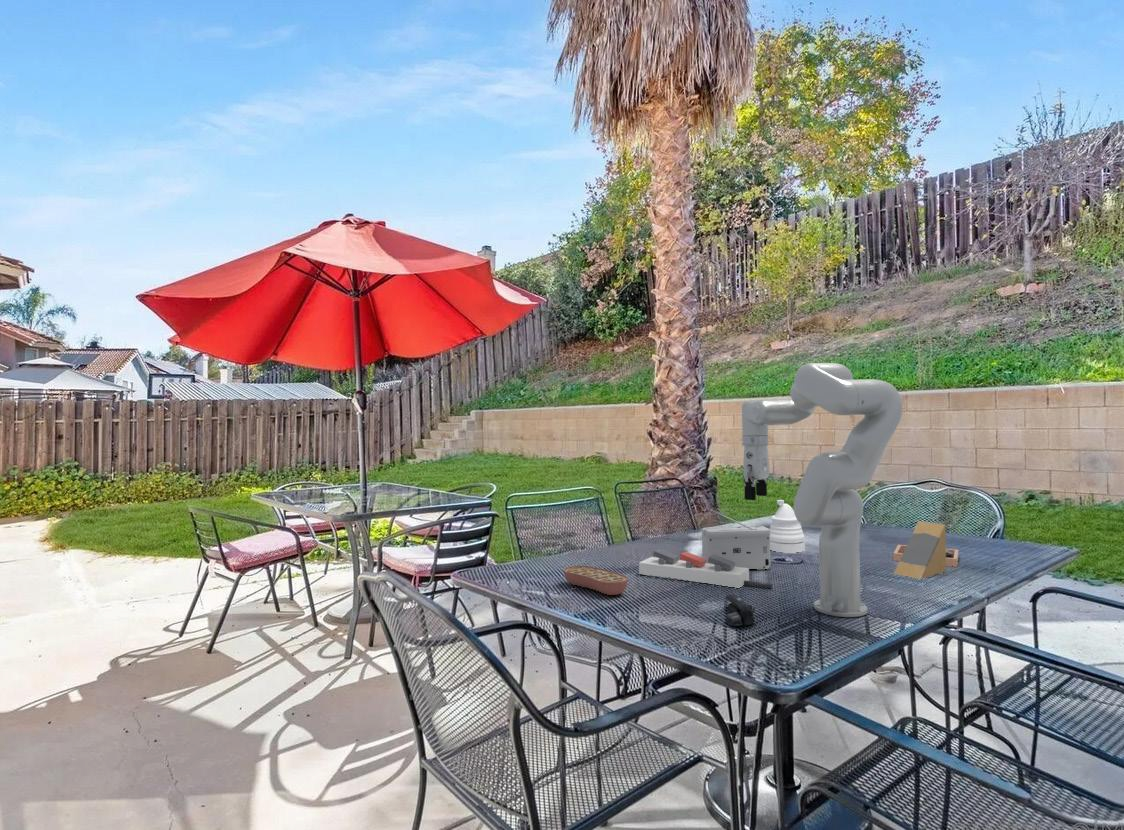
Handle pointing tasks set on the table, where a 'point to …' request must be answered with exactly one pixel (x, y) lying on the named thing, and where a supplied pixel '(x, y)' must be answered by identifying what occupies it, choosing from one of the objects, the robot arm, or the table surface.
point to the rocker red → (693, 559)
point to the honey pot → (786, 531)
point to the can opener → (739, 611)
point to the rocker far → (665, 556)
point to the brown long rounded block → (596, 579)
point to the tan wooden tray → (949, 561)
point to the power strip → (698, 573)
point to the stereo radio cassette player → (738, 545)
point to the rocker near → (721, 562)
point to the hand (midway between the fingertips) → (756, 497)
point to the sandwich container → (924, 552)
